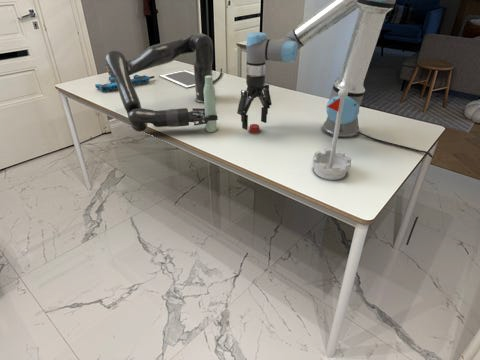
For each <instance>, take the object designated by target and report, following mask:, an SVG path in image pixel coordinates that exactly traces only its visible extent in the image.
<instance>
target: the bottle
mask: <svg viewBox="0 0 480 360" xmlns="http://www.w3.org/2000/svg"><path fill="white" fill-rule="evenodd" d="M212 78H213V75H212V76H205V86H204V103H203V104H204V109H205V115H208V116H209V115H217V103H216V90H215V85H214V83H212ZM217 127H218V126H217V120H214V121H209V122H208V123H207V124H205V131H206V132H209V133H213V132H216V131H217V130H218V128H217Z"/></svg>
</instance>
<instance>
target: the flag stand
mask: <svg viewBox="0 0 480 360" xmlns="http://www.w3.org/2000/svg"><path fill="white" fill-rule="evenodd" d="M338 95H339V97H340V98H339V99H338V100H336V101H335V102H333V103H332V104H330V105H329V106H327V105H326V107H329V108H331V109H333V110H336V111H338V112H337V118H336V124H335V130H334V136H332V143H331V148H330V149H329V148H328V149H324V152H321V151H320V150H317V151H315V152H314V154H313V155H314V156H312V166H313V168H314V169H313V170H314V173H315V174H316V175H317V176H318V177H320V178H322V179H325V180H330V181H333V180H340V179H343V178H345V176H346V173H347V172H348V171H350V169H351V166H352V158H351V157H350V156H346V153H345V152H343V151H339V150H338V151H337V145H338V138H339V137H338V134H339V128H340V123H341V117H342V111H343V105H344V99H345V97H346V96H347V95H348V91H347V90H346V89H344V88H342V89H340V90H339V92H338ZM336 151H337V152H336Z"/></svg>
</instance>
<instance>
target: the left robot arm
mask: <svg viewBox="0 0 480 360" xmlns="http://www.w3.org/2000/svg"><path fill="white" fill-rule="evenodd" d="M192 53H195V60H194V61H193V73H194V75H195V86H194V88H195V100H196V102H198V103H202V104H204V86H205V76H212V83H213V84H215V83H216V82H217V81H218V80H219V79H220V78H221V77H222V75H223V74H222V73H223V68H220V74H219V76H218V77H217V78H216V79H213V62H214V44H213V39H212V38H211V37H210V36H208V35H207V34H204V33H201V32H197V33H196V32H195V33H194V34H191V35H187V36H185V37H183V38H180V39H176V40H170V41H166V42H161V43H156V44H153V45H151V46H149V47H147V48H146V49H145V50H144V51H142V52H141V53H140V54H139V55H138V56H136V57H135V58H132V59H129V60H127V57H126V55H125V54H124V53H123V52H121V51H120V50H110V51H108V52H106V54H105V57H104V63H105V66H106V70H107V73H108V75H109V77H112V78H115V80H116V83H117V87H118V88H117V89H118V93H119V97H120V100H121V102H122V105H123V107H124V110H125V112H126V114H127V119H128V122H129V124H130V127H131V128H132V129H133V130H134V131H135V132H144V131H145V130H146V129H147V128H148V124H151V125H153V127H155V128H165V127H170V128H176V127H178V128H179V127H188V126H189V125H190V123H192V124H193V125H194V126H200V125H201V126H202V125H206V124H207V123H208V122H209V121H214V120H216V121H218V119H219V118H218V115H217V114H216V115H209V116H208V115H205V108H197V107H196V108H195V107H193V108H191V109H192V110H191V111H190V110H189V109H188V108H187V107H184V108H181V107H180V108H169V109H162V110H161V109H159V110H156V109H155V110H154V109H151V108H150V109H149V108H143V107H142V105H141V101H140V99H139V95H138V94H137V91H136V88H135V87H134V85H133V84H132V81H131V79H132V78H131V75H135V74H136V73H139V72H142V71H145V70H148V69H152V68H154V67H159V66H162V65H166V64H170V63H172V62H174V61H175V60H177V59H179V58H180V57H181V56H184V55H188V54H192ZM213 80H214V81H213Z"/></svg>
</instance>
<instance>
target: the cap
mask: <svg viewBox="0 0 480 360" xmlns="http://www.w3.org/2000/svg"><path fill="white" fill-rule="evenodd" d="M248 127H249V133H251V134H259V132H260V125H259V124H258V123H252V124H249V126H248Z"/></svg>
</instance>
